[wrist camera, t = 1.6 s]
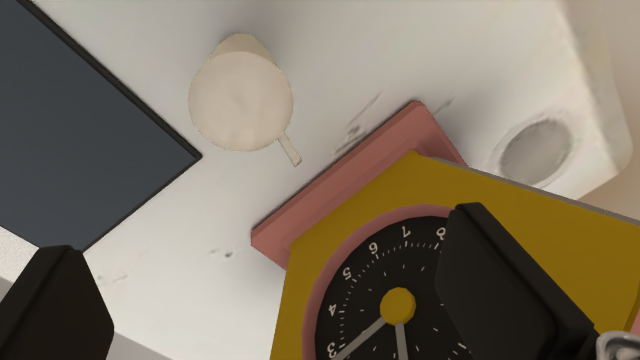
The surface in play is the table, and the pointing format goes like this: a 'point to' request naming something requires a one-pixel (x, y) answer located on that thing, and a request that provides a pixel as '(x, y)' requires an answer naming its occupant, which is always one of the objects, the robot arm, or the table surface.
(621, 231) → the clock
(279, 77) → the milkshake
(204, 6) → the table surface
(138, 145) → the mouse pad
